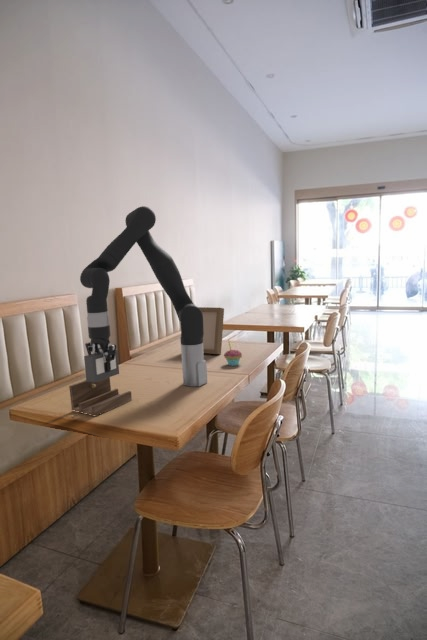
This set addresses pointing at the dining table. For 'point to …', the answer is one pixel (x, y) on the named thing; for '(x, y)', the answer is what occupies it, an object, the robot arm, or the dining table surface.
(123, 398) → the picture ledge
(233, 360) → the cupcake
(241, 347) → the dining table surface
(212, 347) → the photo frame
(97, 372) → the mini frame
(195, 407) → the dining table surface
